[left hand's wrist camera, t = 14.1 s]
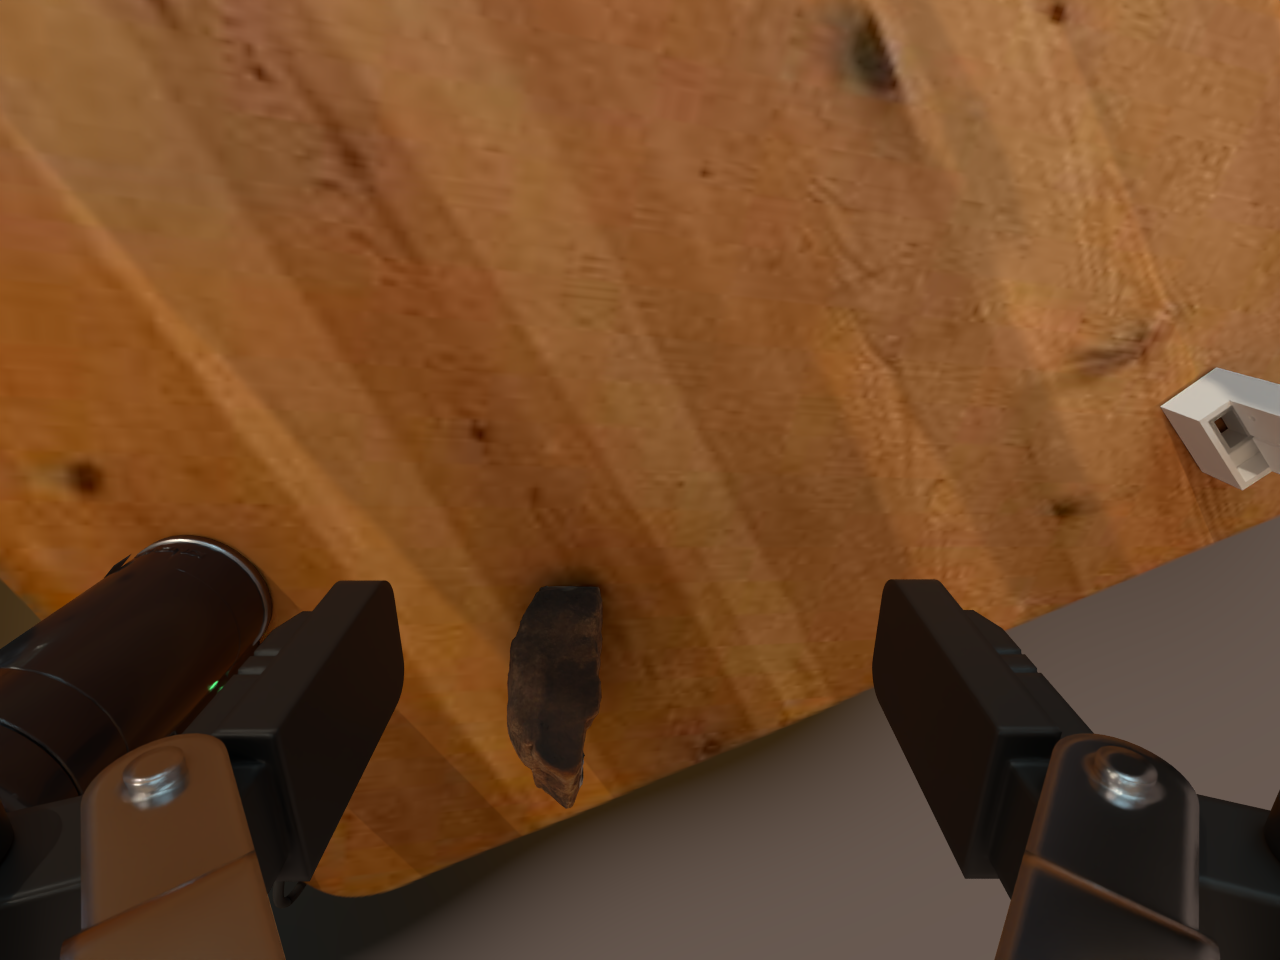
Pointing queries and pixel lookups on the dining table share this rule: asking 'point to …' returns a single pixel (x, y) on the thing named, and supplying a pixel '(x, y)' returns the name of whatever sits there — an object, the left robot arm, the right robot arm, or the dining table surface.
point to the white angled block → (1230, 425)
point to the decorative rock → (555, 686)
